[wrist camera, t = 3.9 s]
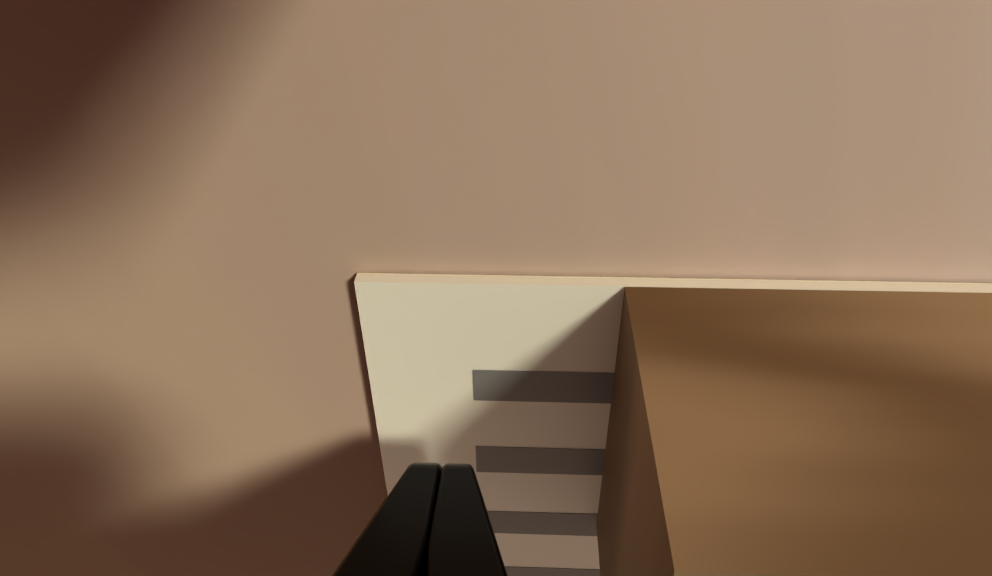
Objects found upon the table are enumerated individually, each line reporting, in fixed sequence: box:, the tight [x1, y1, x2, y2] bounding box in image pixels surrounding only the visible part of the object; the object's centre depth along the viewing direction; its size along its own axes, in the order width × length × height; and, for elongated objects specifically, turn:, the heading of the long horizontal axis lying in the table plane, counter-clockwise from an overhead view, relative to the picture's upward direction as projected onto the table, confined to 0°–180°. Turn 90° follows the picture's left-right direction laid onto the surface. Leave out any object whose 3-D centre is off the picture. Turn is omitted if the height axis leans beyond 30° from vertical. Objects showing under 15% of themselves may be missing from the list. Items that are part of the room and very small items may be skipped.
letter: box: [354, 273, 992, 576], centre depth 12 cm, size 13×10×1 cm
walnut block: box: [596, 287, 992, 576], centre depth 9 cm, size 5×5×4 cm
